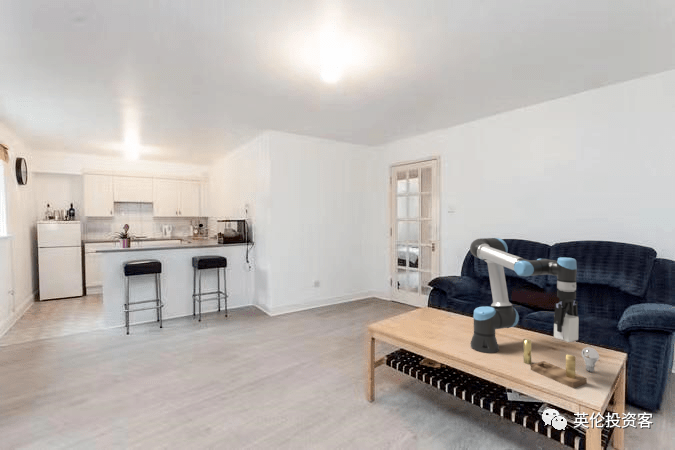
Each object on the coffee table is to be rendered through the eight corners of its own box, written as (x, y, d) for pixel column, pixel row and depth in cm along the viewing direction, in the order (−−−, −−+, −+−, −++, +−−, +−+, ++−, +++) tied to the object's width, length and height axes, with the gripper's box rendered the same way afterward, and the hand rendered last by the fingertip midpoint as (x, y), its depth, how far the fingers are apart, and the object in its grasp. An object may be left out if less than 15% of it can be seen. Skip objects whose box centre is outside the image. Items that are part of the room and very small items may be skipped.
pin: (521, 362, 173) (521, 339, 173) (526, 360, 174) (526, 338, 174) (528, 364, 170) (528, 341, 169) (532, 363, 171) (532, 340, 171)
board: (530, 369, 164) (530, 346, 164) (543, 365, 168) (543, 342, 168) (573, 388, 146) (573, 361, 146) (586, 383, 150) (586, 357, 150)
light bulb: (591, 368, 165) (591, 344, 165) (602, 374, 158) (602, 350, 158) (577, 368, 165) (577, 345, 164) (588, 375, 158) (588, 350, 157)
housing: (553, 336, 160) (554, 314, 159) (563, 334, 162) (563, 312, 162) (568, 342, 153) (569, 318, 153) (578, 339, 156) (578, 316, 156)
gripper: (560, 293, 150) (560, 343, 151) (588, 289, 157) (587, 336, 158) (544, 290, 157) (544, 337, 157) (571, 286, 164) (571, 331, 165)
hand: (565, 337), depth 158 cm, fingers closed on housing, 7 cm apart
